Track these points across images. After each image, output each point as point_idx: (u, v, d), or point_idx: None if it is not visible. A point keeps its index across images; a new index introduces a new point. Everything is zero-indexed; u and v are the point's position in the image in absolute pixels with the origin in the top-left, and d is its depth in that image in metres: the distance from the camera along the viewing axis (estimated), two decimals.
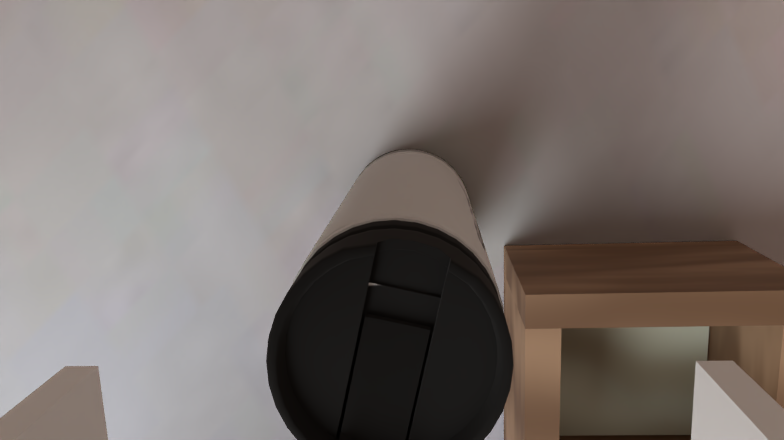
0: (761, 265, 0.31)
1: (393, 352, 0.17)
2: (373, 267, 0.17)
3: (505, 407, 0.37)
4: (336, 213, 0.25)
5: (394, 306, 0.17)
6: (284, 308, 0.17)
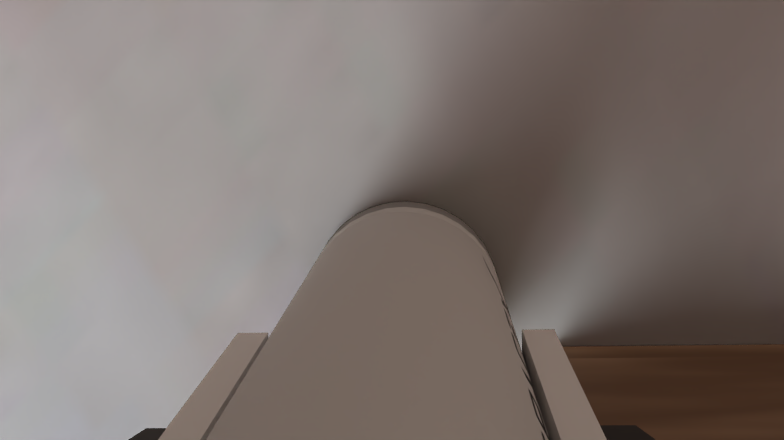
0: None
1: None
2: None
3: None
4: (252, 369, 0.12)
5: None
6: None
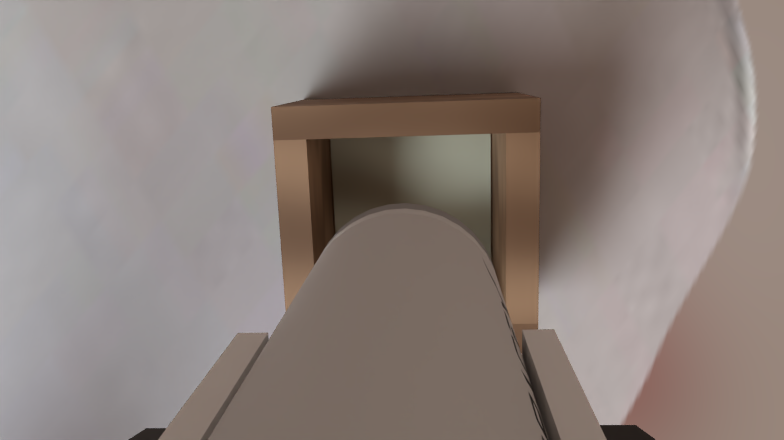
0: None
1: None
2: None
3: None
4: (251, 372, 0.12)
5: None
6: None
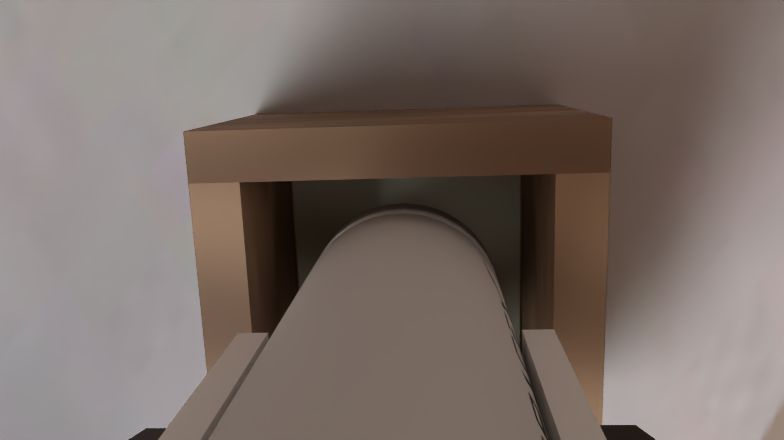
0: (556, 112, 0.22)
1: None
2: None
3: None
4: (251, 372, 0.12)
5: None
6: None
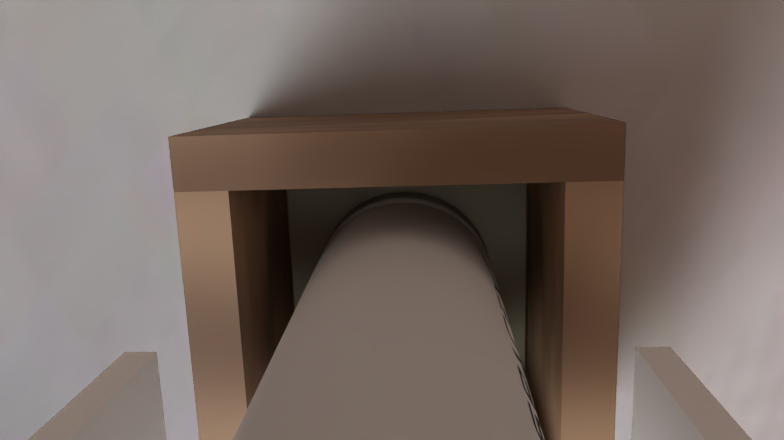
0: (565, 115, 0.21)
1: None
2: None
3: None
4: (281, 349, 0.14)
5: None
6: None
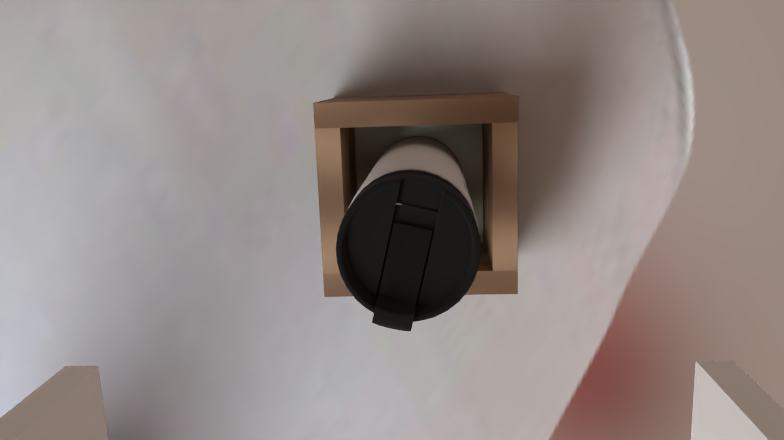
0: None
1: (410, 245, 0.29)
2: (398, 193, 0.29)
3: None
4: (370, 174, 0.36)
5: (411, 217, 0.29)
6: (346, 217, 0.29)
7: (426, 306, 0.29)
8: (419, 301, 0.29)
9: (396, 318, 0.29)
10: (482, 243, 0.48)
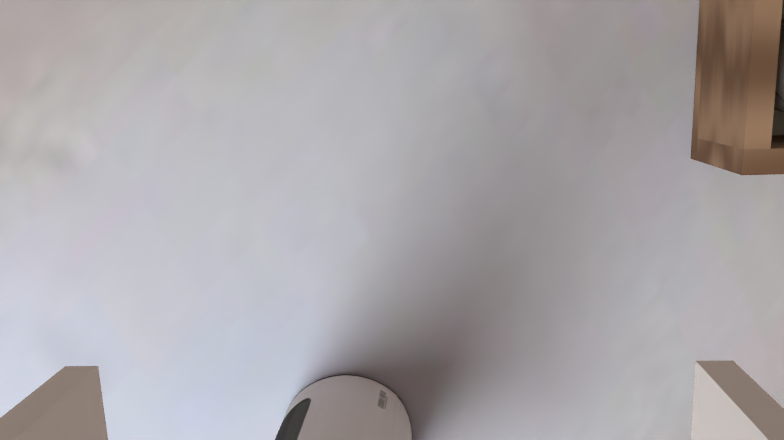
0: None
1: None
2: None
3: (697, 115, 0.46)
4: None
5: None
6: None
7: None
8: None
9: None
10: None
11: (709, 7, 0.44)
